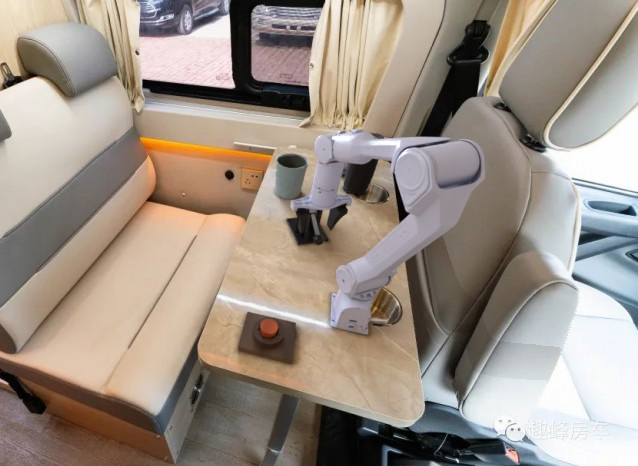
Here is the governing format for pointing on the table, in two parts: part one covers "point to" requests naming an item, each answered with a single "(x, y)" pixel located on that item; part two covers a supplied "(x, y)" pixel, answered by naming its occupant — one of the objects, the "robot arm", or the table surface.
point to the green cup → (290, 175)
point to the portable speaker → (360, 174)
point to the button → (268, 328)
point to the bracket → (306, 229)
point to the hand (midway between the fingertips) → (315, 229)
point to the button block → (263, 346)
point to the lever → (315, 228)
